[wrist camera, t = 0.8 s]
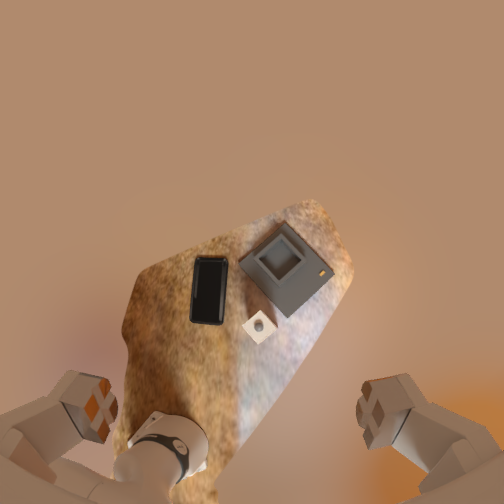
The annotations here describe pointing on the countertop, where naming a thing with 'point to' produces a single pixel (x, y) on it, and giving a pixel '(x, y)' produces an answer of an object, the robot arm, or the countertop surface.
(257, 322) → the cream square peg
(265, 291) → the dock
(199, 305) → the phone
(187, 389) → the countertop surface
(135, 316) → the countertop surface
